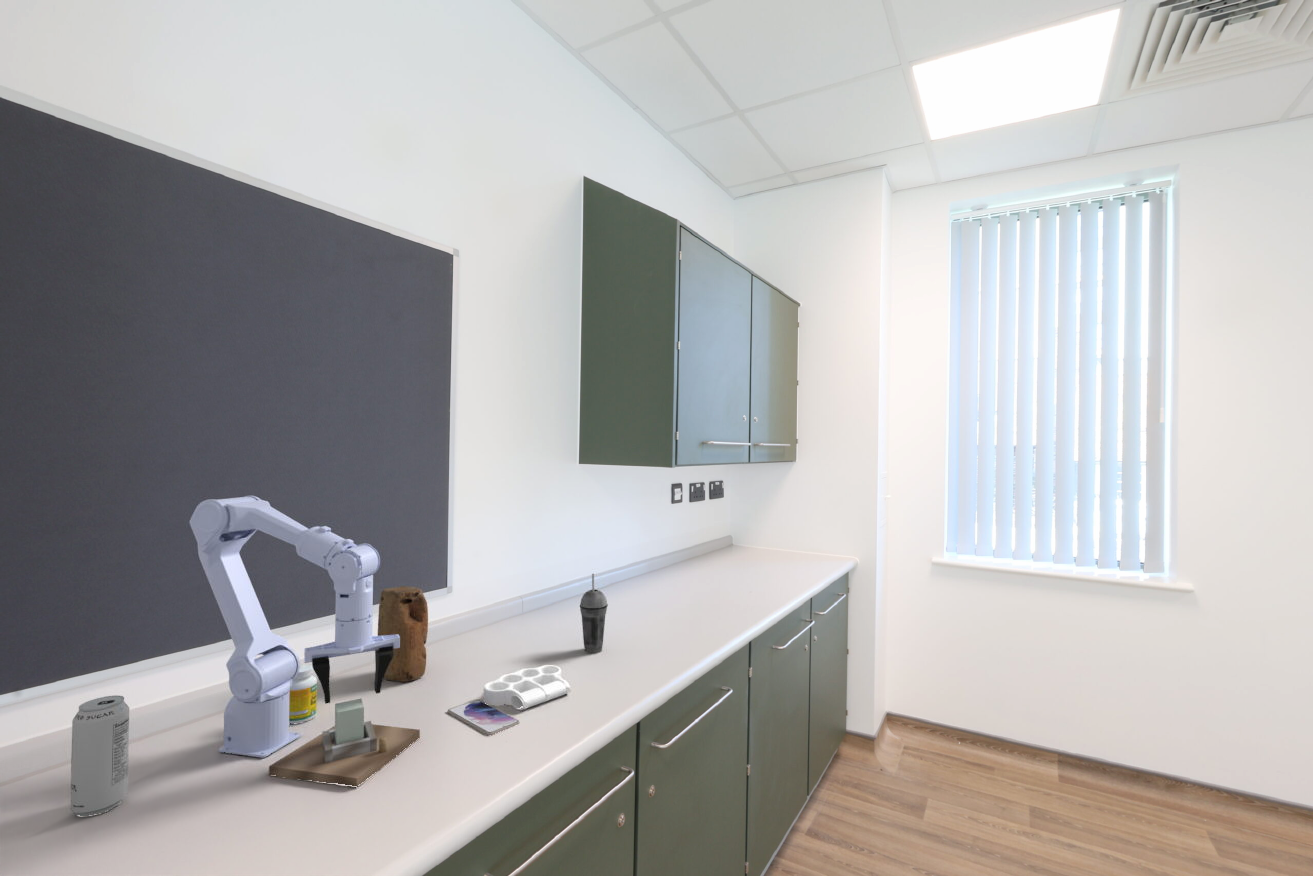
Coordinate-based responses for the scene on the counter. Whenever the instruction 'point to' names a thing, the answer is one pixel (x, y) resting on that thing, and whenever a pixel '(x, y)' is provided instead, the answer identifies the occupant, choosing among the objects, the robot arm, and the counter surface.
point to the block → (405, 631)
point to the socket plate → (344, 767)
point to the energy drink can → (99, 755)
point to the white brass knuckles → (526, 687)
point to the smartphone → (483, 717)
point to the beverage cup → (593, 619)
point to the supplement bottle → (303, 696)
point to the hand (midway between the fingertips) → (352, 696)
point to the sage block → (349, 721)
